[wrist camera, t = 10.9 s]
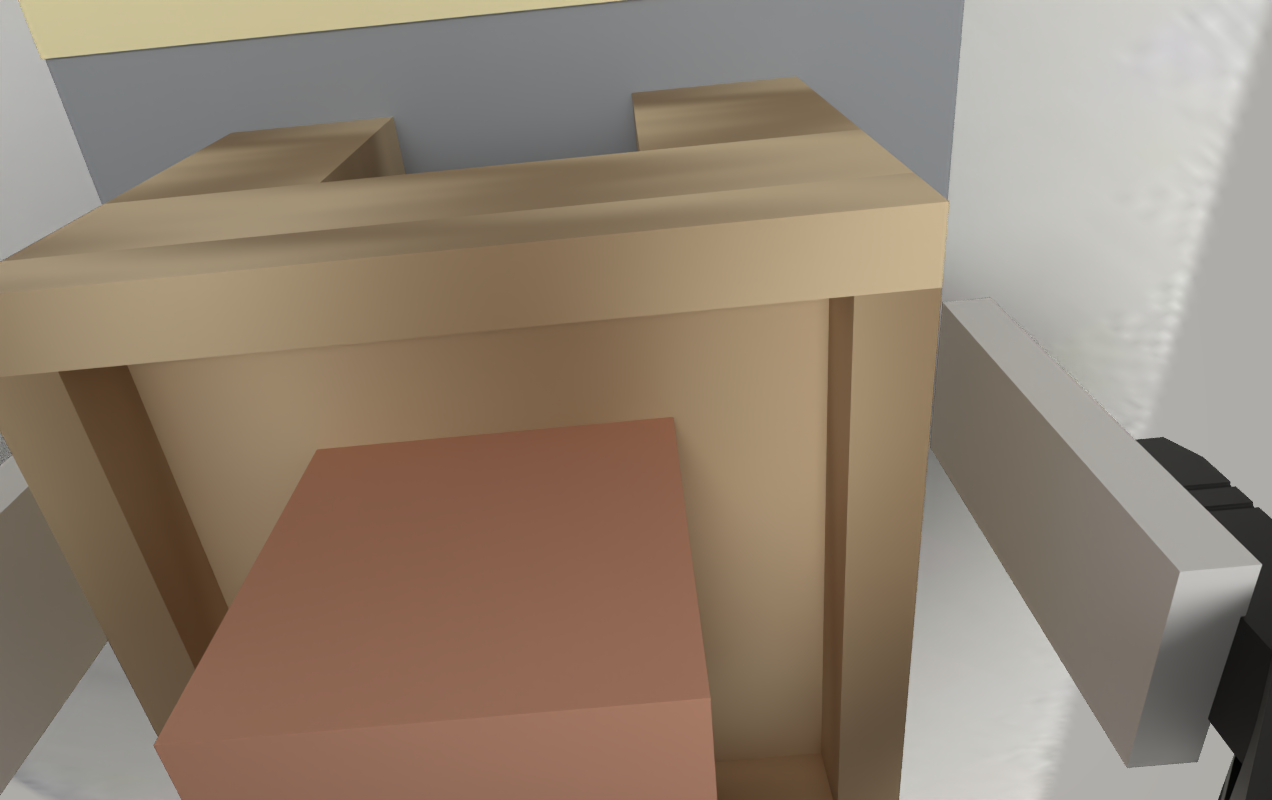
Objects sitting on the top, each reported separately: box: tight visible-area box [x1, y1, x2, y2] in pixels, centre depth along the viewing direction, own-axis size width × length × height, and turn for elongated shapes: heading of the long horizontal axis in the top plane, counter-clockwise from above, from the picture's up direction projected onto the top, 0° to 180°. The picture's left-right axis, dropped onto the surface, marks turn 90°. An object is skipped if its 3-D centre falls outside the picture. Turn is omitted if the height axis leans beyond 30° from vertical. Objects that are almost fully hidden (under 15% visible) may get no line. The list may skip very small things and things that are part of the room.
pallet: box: [0, 76, 949, 800], centre depth 13 cm, size 9×9×7 cm
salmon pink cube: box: [153, 417, 717, 800], centre depth 9 cm, size 4×4×4 cm
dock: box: [18, 0, 964, 592], centre depth 17 cm, size 14×14×3 cm
